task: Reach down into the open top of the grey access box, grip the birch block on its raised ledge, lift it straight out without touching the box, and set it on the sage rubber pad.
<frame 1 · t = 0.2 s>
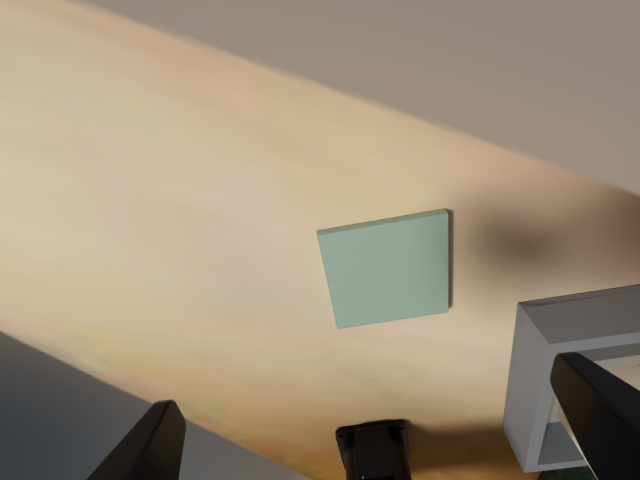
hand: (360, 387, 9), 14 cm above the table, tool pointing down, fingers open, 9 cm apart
access box: (574, 364, 30), on the table, touching birch block
coffee jar: (577, 473, 39), on the table
birch block: (595, 390, 28), point 2 cm above the table, touching access box
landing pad: (385, 271, 25), on the table
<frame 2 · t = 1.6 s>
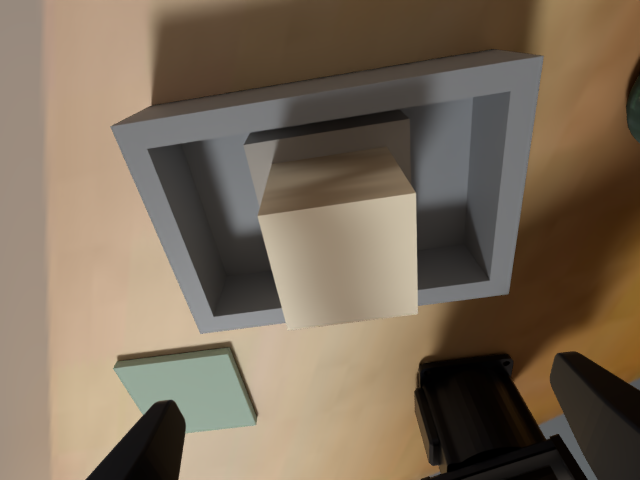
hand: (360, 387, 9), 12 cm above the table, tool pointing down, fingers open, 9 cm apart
access box: (333, 186, 19), on the table, touching birch block
birch block: (335, 207, 17), point 2 cm above the table, touching access box
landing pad: (191, 391, 27), on the table
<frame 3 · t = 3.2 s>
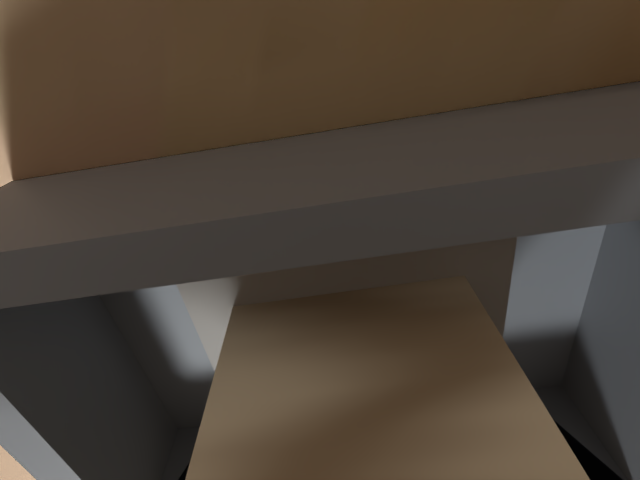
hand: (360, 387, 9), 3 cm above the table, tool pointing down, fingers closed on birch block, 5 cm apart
access box: (348, 303, 11), on the table, touching birch block
birch block: (357, 369, 9), point 2 cm above the table, touching access box, gripper
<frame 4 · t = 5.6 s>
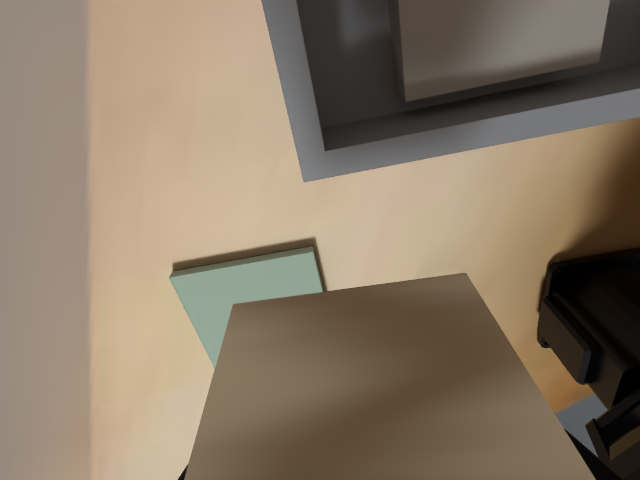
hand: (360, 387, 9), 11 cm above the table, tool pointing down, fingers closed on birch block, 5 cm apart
birch block: (358, 367, 9), point 11 cm above the table, touching gripper
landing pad: (261, 312, 22), on the table
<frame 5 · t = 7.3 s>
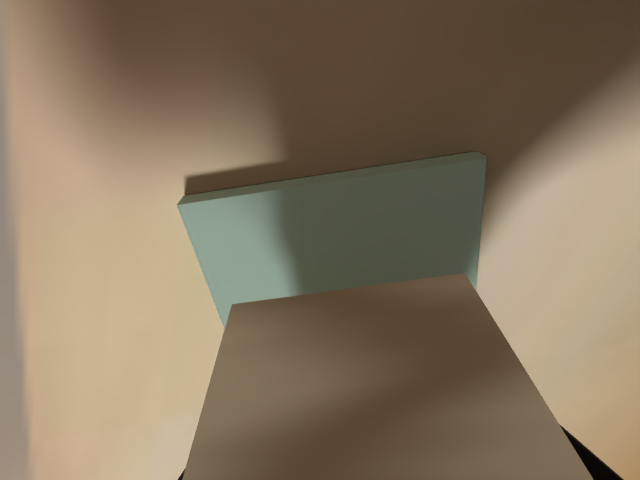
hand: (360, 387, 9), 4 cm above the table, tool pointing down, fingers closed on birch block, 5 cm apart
birch block: (357, 367, 9), point 3 cm above the table, touching gripper
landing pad: (344, 289, 12), on the table
when the fingers open (2 cm above the table, at t = 8.4 s): birch block drops 1 cm, resting on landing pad.
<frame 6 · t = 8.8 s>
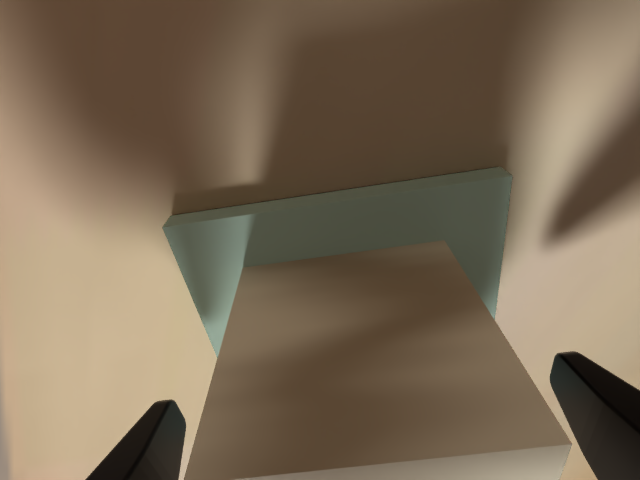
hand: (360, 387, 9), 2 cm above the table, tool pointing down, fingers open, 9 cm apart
birch block: (352, 328, 10), point 1 cm above the table, touching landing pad
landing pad: (349, 315, 11), on the table
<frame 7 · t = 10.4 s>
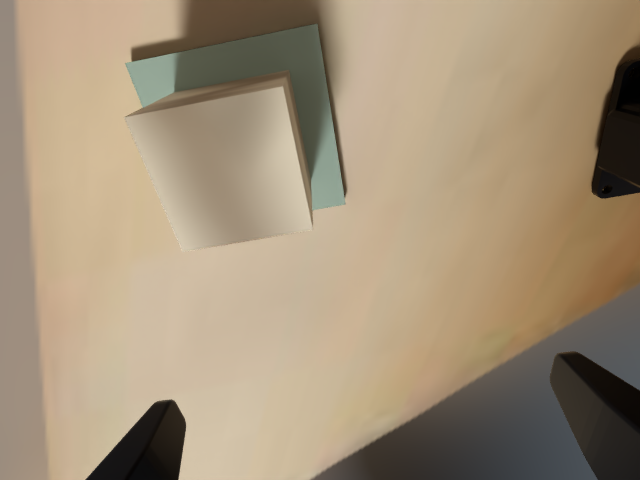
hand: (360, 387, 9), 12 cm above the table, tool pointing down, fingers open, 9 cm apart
birch block: (247, 139, 17), point 1 cm above the table, touching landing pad
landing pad: (248, 137, 17), on the table
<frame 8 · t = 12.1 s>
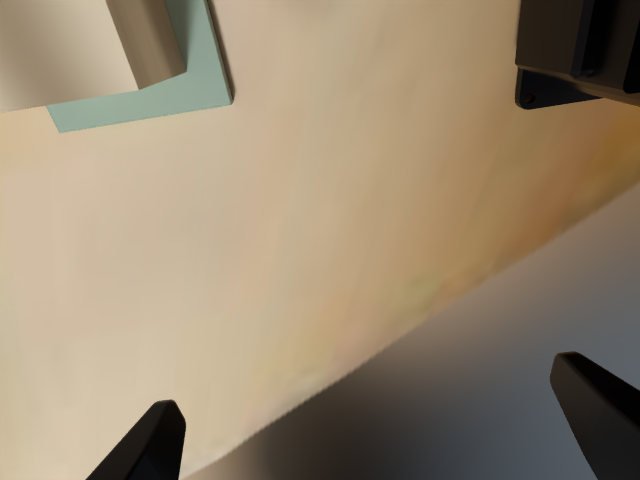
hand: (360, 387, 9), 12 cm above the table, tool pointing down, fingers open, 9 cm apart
birch block: (104, 13, 14), point 1 cm above the table, touching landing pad
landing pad: (111, 16, 15), on the table
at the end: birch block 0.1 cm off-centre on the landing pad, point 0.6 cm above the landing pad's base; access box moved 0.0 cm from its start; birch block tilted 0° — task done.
